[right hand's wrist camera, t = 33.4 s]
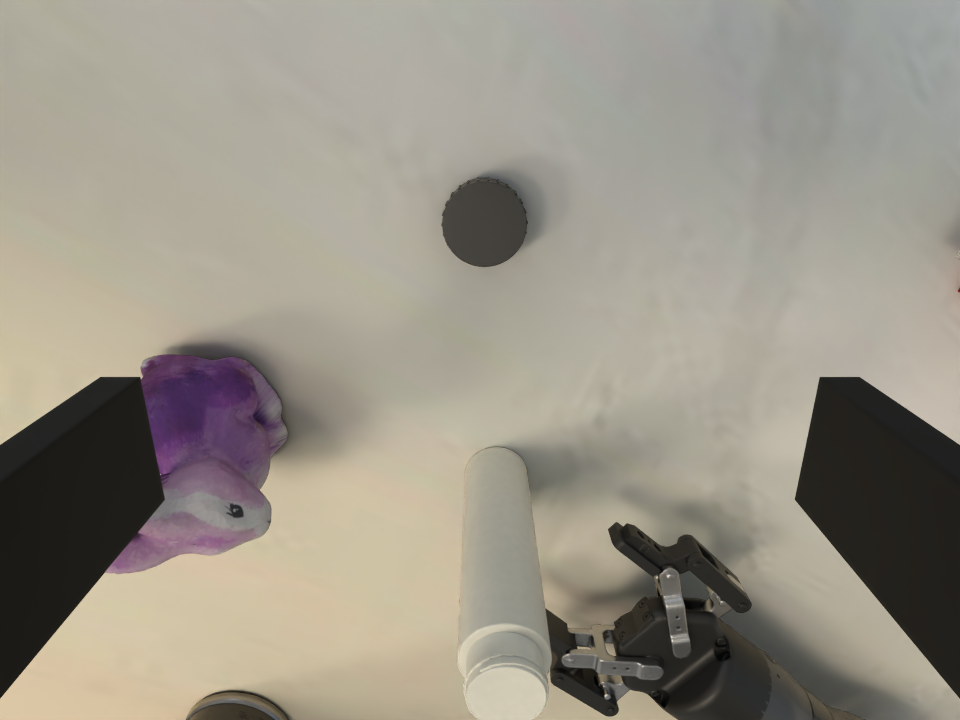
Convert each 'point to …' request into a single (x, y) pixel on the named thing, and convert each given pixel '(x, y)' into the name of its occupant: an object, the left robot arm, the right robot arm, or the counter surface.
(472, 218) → the lid
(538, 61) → the counter surface
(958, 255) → the toy
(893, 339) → the counter surface
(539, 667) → the jar
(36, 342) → the counter surface
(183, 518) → the figurine
